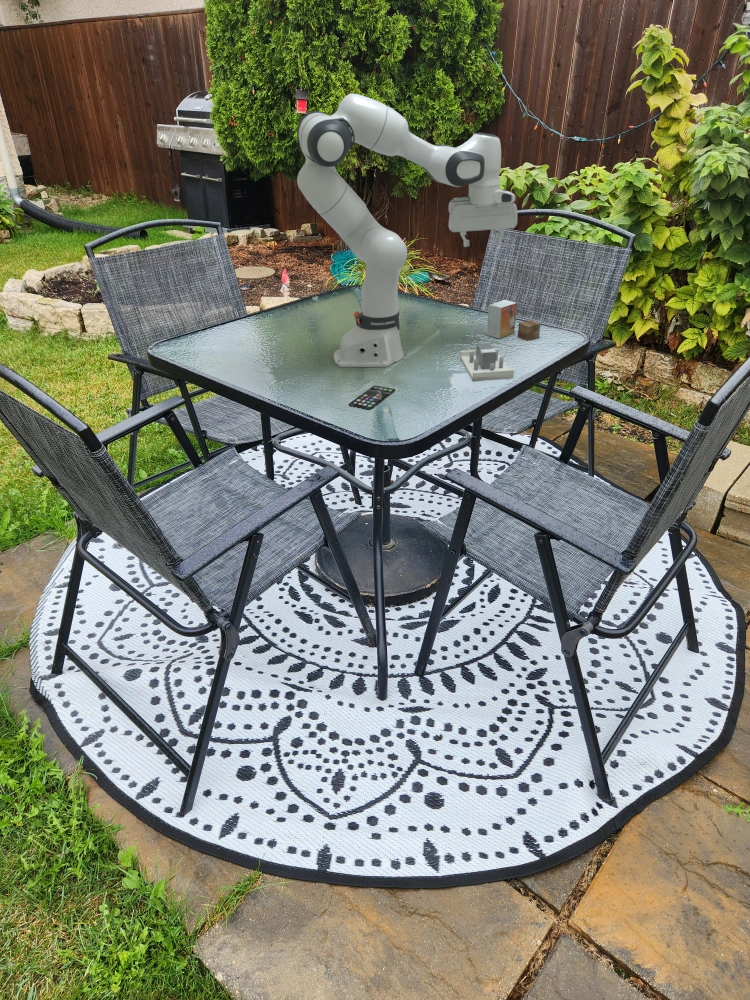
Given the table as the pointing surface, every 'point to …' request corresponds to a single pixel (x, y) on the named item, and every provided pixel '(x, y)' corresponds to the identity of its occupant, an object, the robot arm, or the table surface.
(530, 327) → the walnut block
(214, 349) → the table surface
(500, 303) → the small box
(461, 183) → the robot arm
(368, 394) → the smartphone
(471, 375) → the peg board
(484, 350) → the block
